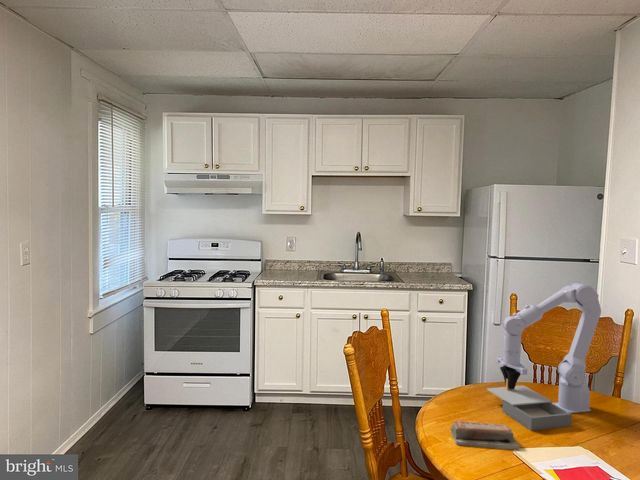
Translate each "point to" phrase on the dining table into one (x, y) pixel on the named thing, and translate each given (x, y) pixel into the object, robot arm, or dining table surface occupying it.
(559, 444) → the dining table surface
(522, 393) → the carton lid
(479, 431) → the packaged product
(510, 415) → the carton
